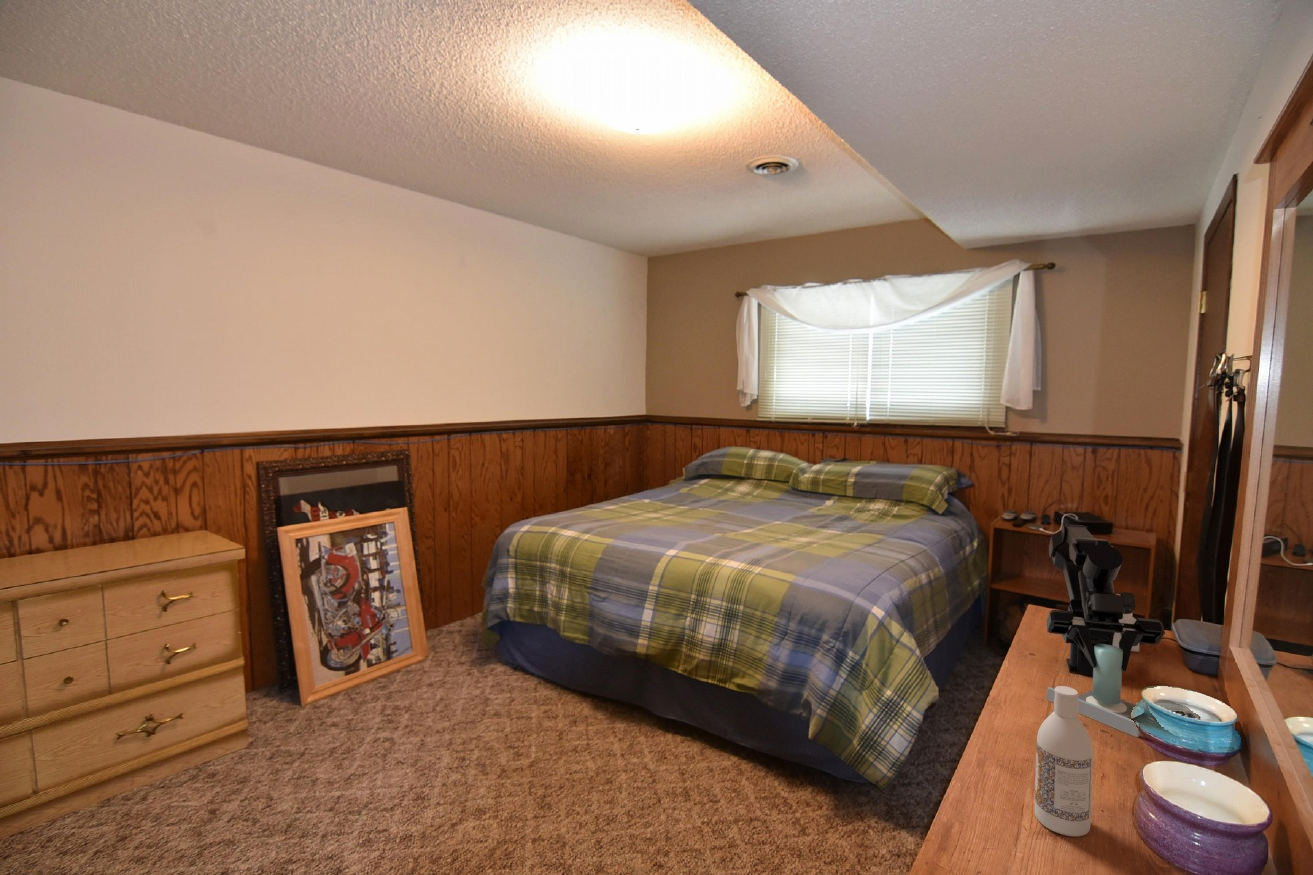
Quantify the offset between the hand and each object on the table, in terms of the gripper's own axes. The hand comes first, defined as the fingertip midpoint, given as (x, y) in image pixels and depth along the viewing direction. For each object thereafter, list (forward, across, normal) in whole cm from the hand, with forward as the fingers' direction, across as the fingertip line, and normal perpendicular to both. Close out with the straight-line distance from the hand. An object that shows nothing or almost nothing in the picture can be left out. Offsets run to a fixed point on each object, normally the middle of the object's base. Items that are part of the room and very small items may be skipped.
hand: (1109, 668), depth 124 cm
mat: (+5, 0, +7) cm, 9 cm away
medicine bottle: (-20, +10, +33) cm, 39 cm away
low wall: (+8, -3, +4) cm, 10 cm away
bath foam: (+33, -14, -21) cm, 42 cm away
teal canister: (+4, 0, +6) cm, 7 cm away
